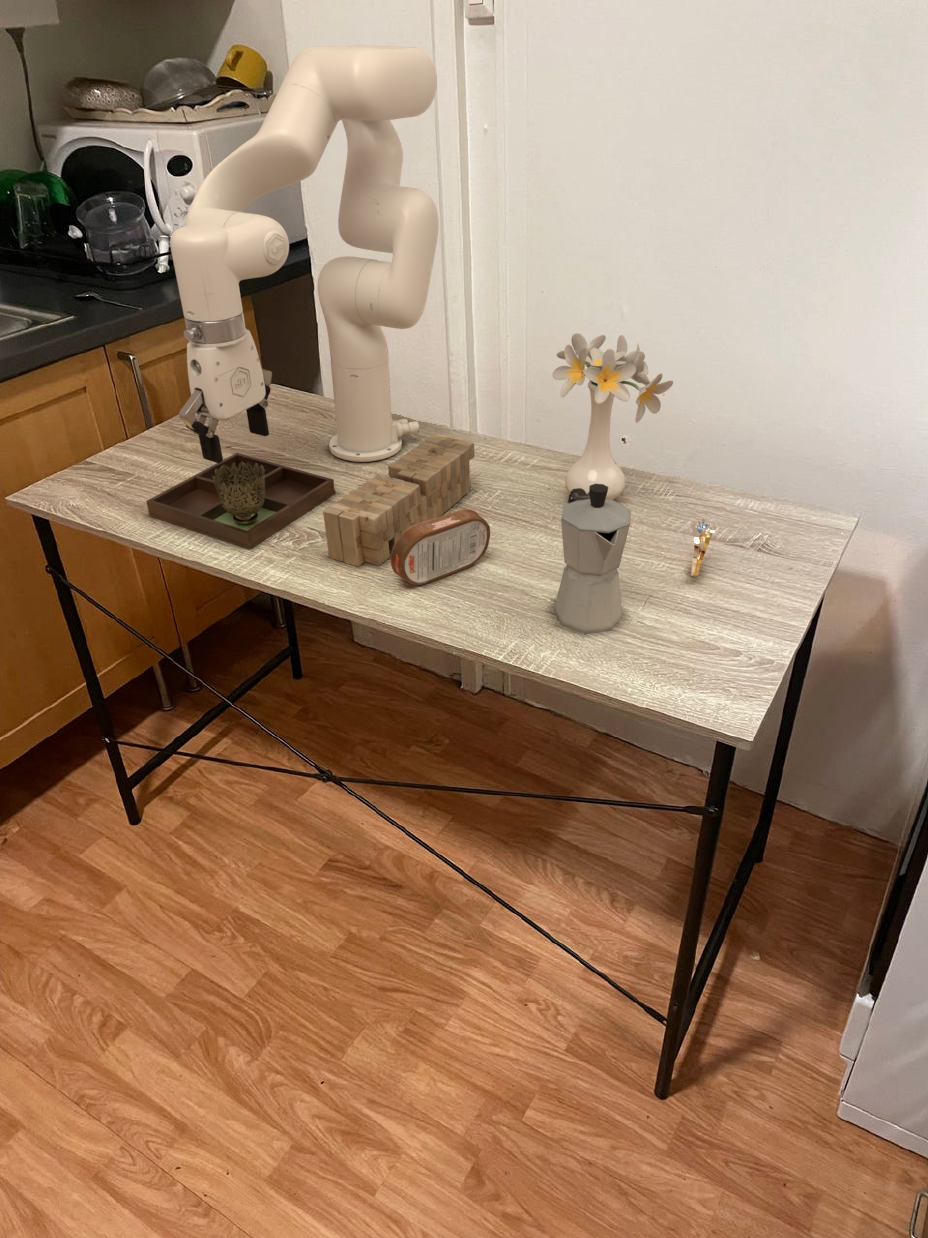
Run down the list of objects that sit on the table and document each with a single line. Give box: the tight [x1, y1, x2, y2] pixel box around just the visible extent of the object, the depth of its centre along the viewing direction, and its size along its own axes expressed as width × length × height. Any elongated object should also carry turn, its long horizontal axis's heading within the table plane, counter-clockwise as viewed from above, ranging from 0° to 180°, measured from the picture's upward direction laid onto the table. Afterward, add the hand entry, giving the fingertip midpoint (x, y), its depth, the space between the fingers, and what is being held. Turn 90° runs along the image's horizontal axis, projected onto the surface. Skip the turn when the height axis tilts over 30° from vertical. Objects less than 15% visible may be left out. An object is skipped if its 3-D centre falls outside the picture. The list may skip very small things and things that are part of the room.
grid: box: [145, 452, 336, 550], centre depth 142 cm, size 20×20×3 cm
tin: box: [390, 508, 491, 586], centre depth 124 cm, size 15×3×8 cm, turn 126°
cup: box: [212, 462, 265, 525], centre depth 135 cm, size 8×7×8 cm
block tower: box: [322, 433, 475, 567], centre depth 136 cm, size 8×8×29 cm
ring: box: [690, 518, 716, 578], centre depth 123 cm, size 7×3×8 cm, turn 159°
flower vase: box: [551, 332, 674, 501], centre depth 136 cm, size 13×18×25 cm
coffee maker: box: [553, 484, 632, 634], centre depth 114 cm, size 15×9×18 cm, turn 12°
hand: (237, 446), depth 131 cm, fingers open, 9 cm apart
